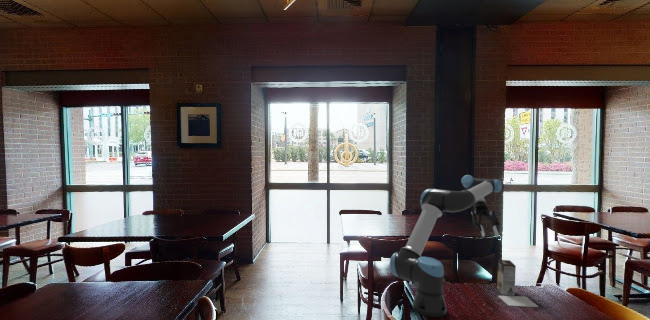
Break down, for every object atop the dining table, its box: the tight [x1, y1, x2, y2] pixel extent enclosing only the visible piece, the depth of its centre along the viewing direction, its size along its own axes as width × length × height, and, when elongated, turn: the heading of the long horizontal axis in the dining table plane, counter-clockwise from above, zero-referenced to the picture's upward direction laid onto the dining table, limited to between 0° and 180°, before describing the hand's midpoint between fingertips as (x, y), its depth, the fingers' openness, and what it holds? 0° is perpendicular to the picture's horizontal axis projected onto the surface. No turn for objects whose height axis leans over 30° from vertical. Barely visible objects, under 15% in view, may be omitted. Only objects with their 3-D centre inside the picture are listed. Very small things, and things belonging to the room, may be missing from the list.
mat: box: [497, 295, 539, 308], centre depth 164 cm, size 14×11×1 cm
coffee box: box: [496, 259, 517, 296], centre depth 175 cm, size 9×6×16 cm
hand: (490, 236), depth 190 cm, fingers open, 7 cm apart
